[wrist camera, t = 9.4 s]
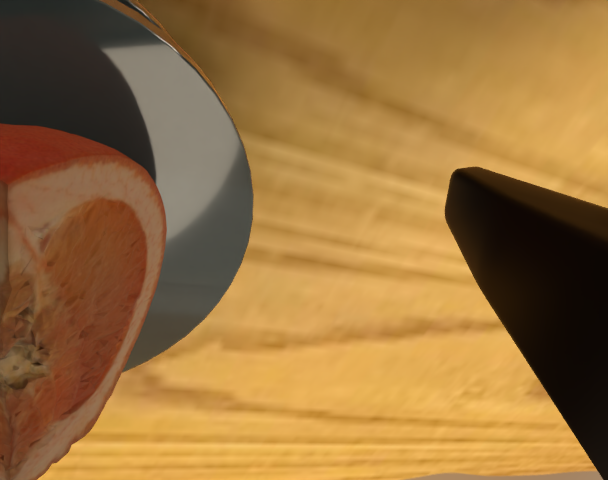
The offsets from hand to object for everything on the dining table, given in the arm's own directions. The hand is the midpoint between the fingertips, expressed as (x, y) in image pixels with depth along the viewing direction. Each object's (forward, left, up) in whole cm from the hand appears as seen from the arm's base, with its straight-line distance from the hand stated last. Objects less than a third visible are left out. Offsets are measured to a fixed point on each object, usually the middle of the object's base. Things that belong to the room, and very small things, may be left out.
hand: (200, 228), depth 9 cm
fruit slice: (+4, +3, -6) cm, 8 cm away
